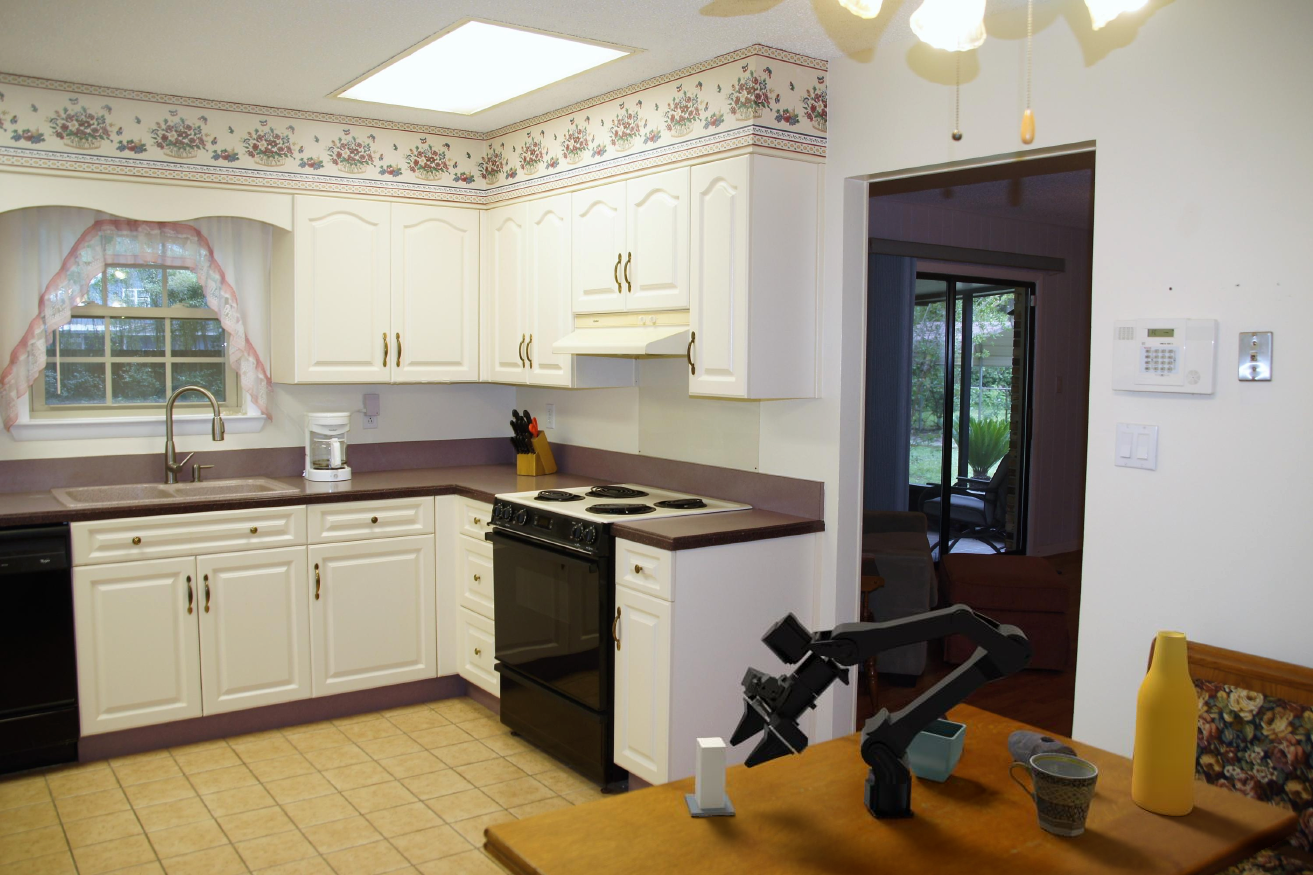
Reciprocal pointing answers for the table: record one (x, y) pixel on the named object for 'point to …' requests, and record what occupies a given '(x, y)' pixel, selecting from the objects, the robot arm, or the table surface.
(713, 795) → the tall block
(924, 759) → the flower pot
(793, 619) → the robot arm
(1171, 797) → the beer bottle
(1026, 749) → the perforated stone tool
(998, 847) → the table surface
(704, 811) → the slate mat
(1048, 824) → the ceramic cup
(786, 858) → the table surface
